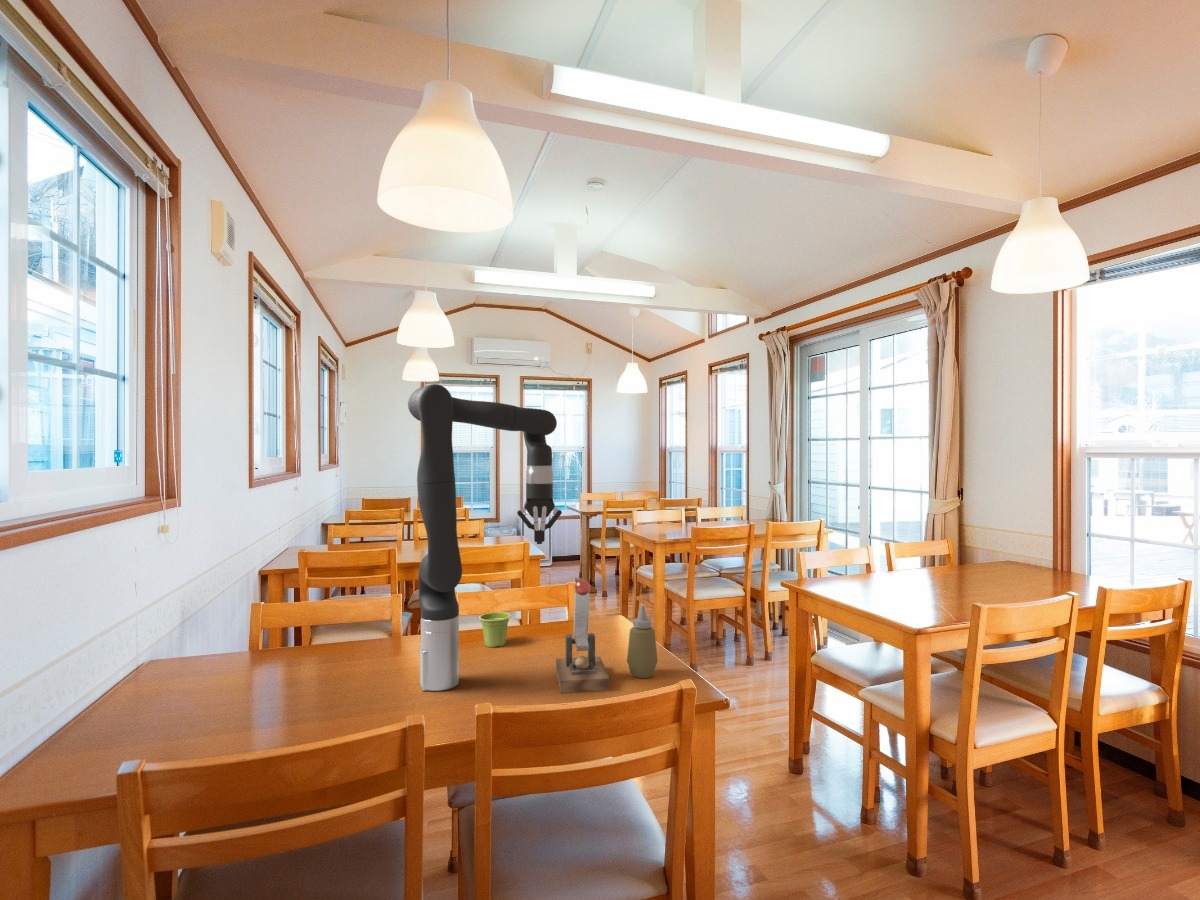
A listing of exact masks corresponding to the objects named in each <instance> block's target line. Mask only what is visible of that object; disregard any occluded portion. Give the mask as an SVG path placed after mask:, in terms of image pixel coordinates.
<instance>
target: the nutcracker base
mask: <svg viewBox="0 0 1200 900" xmlns="http://www.w3.org/2000/svg"><path fill="white" fill-rule="evenodd" d="M574 644H575V645H576V643H575V641H574V638H573V634H571V633H566V634H565V658H564V657H563V658H561V657H560V658H556V659H555V663H556V664H555V671H557V672H556V676H557V682H559V683H558V687H560V688H559V693H560V694H569V693H571V692H572V693H587V692H588V691H592V692H603V691H604V692H606V690H609V691H610V676H609V674H608V672H607V670H606V667H605V665H604V662H603V660H602V658H601V656H596V635H595V633H594V632H588V645H589V649H588V651H587V656H585V657H586V658H587V659H588V661H589V666H588V668H587V669H586V670H579V669H577V667H576V665H575V661H576V659H577V658H578V657H573V645H574ZM572 693H571V694H572Z"/></svg>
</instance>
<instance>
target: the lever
mask: <svg viewBox="0 0 1200 900" xmlns="http://www.w3.org/2000/svg"><path fill="white" fill-rule="evenodd" d="M590 591H591V585H590V582H589V581H588V580H587V579H582V578H581V579H578V580H577V581H576V582H575V583H574V601H573V602H574V604H573V631H572V632H573V634H572V638H573V639H574V641H575V643H576V644H575V649H576V652H588V649H589V645H588V633H589V618H590V617H589V614H590V613H589V612H590Z"/></svg>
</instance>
